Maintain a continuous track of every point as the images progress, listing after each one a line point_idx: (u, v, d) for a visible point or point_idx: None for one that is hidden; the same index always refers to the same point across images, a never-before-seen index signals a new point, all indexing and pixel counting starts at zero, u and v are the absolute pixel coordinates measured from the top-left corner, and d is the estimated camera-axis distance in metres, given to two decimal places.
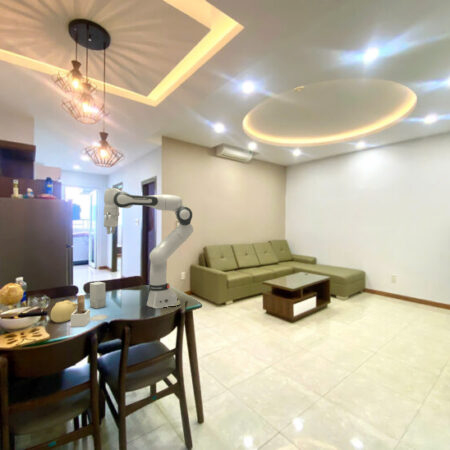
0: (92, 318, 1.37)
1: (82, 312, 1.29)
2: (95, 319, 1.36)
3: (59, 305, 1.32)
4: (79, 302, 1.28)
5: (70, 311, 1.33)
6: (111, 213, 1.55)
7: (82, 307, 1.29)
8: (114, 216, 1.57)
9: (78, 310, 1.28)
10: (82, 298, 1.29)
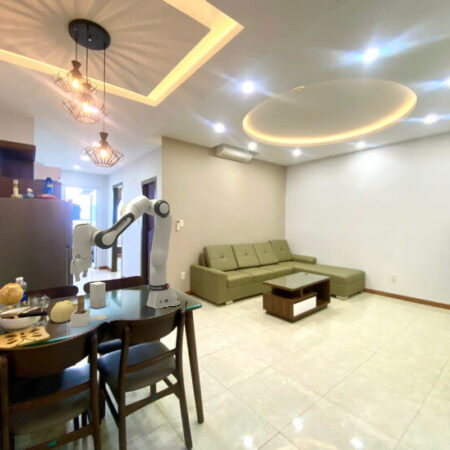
0: (92, 318, 1.37)
1: (82, 312, 1.29)
2: (95, 319, 1.36)
3: (59, 305, 1.32)
4: (79, 302, 1.28)
5: (70, 311, 1.33)
6: (81, 255, 1.25)
7: (82, 307, 1.29)
8: (85, 258, 1.28)
9: (78, 310, 1.28)
10: (82, 298, 1.29)
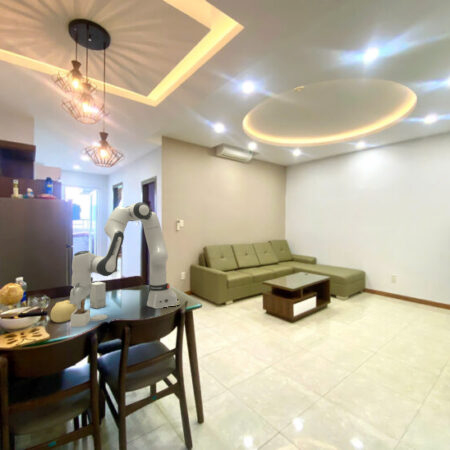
0: (92, 318, 1.37)
1: (82, 312, 1.29)
2: (95, 319, 1.36)
3: (59, 305, 1.32)
4: None
5: (70, 311, 1.33)
6: (80, 284, 1.26)
7: (82, 307, 1.29)
8: (84, 286, 1.28)
9: (78, 310, 1.28)
10: None
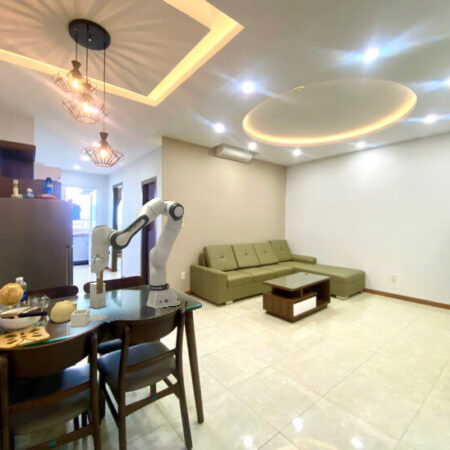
0: (92, 318, 1.37)
1: (101, 282, 1.38)
2: (95, 319, 1.36)
3: (59, 305, 1.32)
4: None
5: (70, 311, 1.33)
6: (100, 255, 1.34)
7: (101, 277, 1.37)
8: (103, 258, 1.37)
9: (97, 280, 1.37)
10: None
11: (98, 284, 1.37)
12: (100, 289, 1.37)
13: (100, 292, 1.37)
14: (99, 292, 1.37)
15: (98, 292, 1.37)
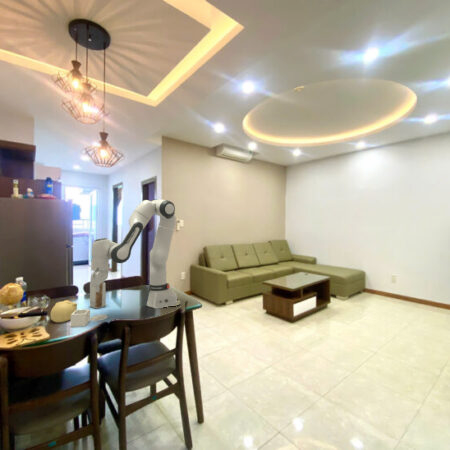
0: (92, 318, 1.37)
1: (100, 295, 1.37)
2: (95, 319, 1.36)
3: (59, 305, 1.32)
4: None
5: (70, 311, 1.33)
6: (99, 269, 1.34)
7: (100, 290, 1.37)
8: (103, 271, 1.37)
9: (97, 293, 1.37)
10: None
11: (97, 297, 1.37)
12: (99, 303, 1.37)
13: (99, 305, 1.37)
14: (98, 305, 1.37)
15: (97, 305, 1.37)
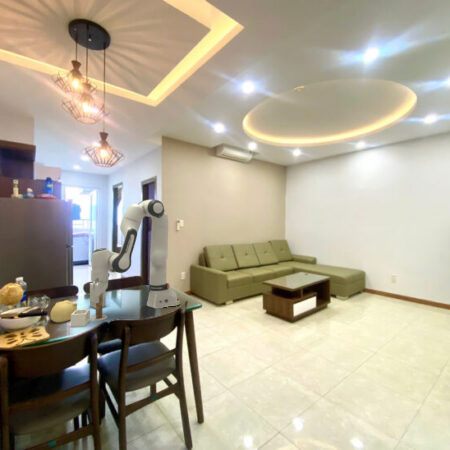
0: (92, 318, 1.37)
1: (100, 307, 1.38)
2: (95, 319, 1.36)
3: (59, 305, 1.32)
4: None
5: (70, 311, 1.33)
6: (99, 279, 1.34)
7: (100, 302, 1.38)
8: (103, 281, 1.37)
9: (97, 305, 1.37)
10: None
11: (97, 309, 1.37)
12: (100, 314, 1.37)
13: (99, 317, 1.37)
14: (98, 317, 1.37)
15: (97, 317, 1.37)
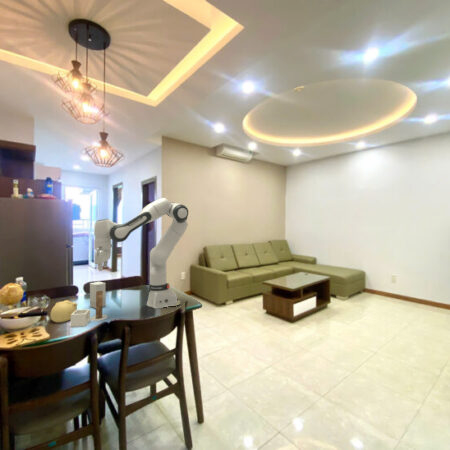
0: (92, 318, 1.37)
1: (100, 307, 1.38)
2: (95, 319, 1.36)
3: (59, 305, 1.32)
4: (98, 297, 1.37)
5: (70, 311, 1.33)
6: (102, 247, 1.41)
7: (100, 302, 1.38)
8: (106, 250, 1.43)
9: (97, 305, 1.37)
10: (100, 293, 1.37)
11: (97, 309, 1.37)
12: (100, 314, 1.37)
13: (99, 317, 1.37)
14: (98, 317, 1.37)
15: (97, 317, 1.37)
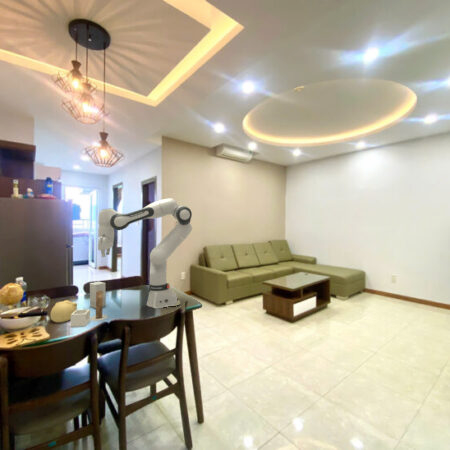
0: (92, 318, 1.37)
1: (100, 307, 1.38)
2: (95, 319, 1.36)
3: (59, 305, 1.32)
4: (98, 297, 1.37)
5: (70, 311, 1.33)
6: (106, 235, 1.49)
7: (100, 302, 1.38)
8: (109, 238, 1.51)
9: (97, 305, 1.37)
10: (100, 293, 1.37)
11: (97, 309, 1.37)
12: (100, 314, 1.37)
13: (99, 317, 1.37)
14: (98, 317, 1.37)
15: (97, 317, 1.37)
